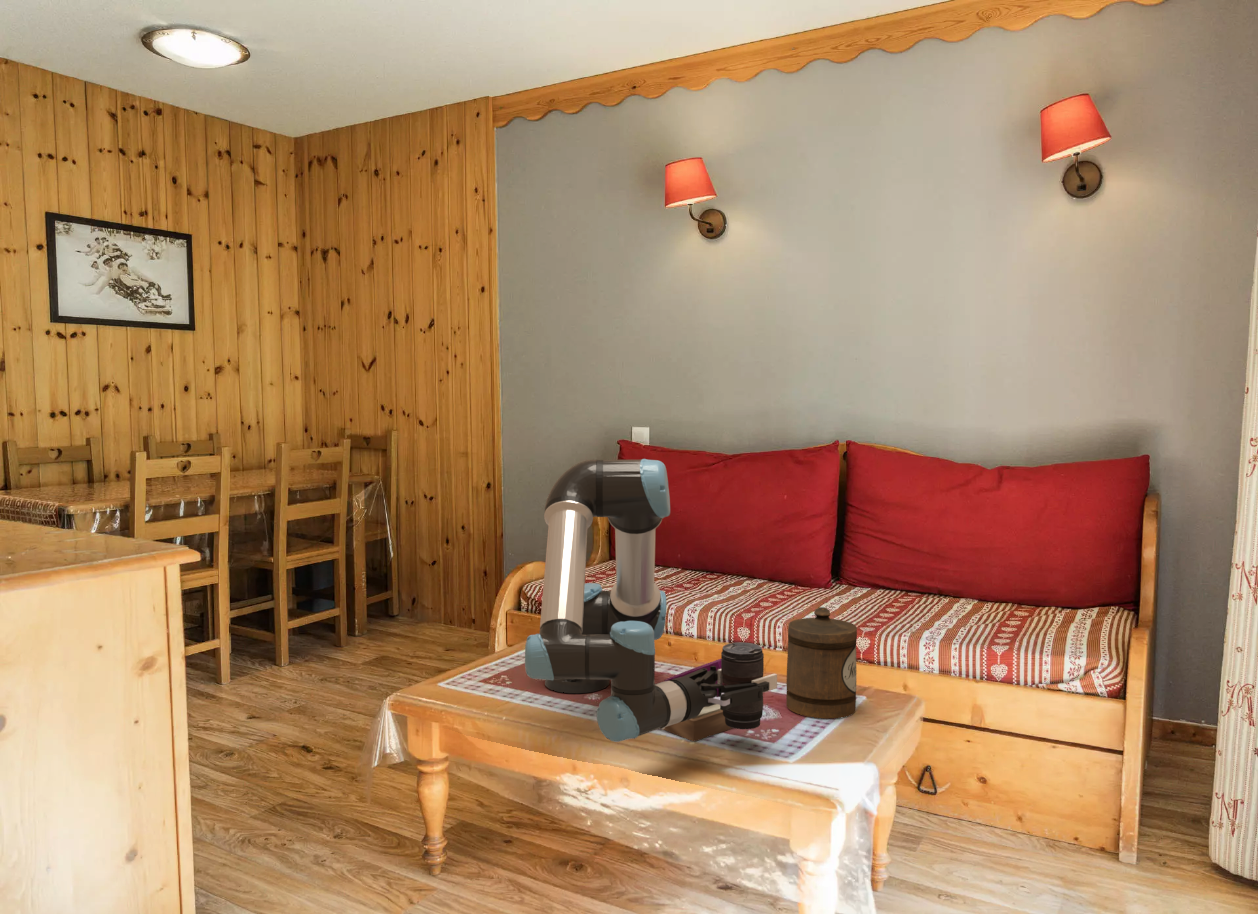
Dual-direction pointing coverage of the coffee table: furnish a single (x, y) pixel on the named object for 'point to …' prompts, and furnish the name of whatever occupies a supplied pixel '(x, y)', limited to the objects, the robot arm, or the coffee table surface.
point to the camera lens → (742, 681)
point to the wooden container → (821, 666)
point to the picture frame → (701, 724)
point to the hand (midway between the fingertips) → (758, 675)
